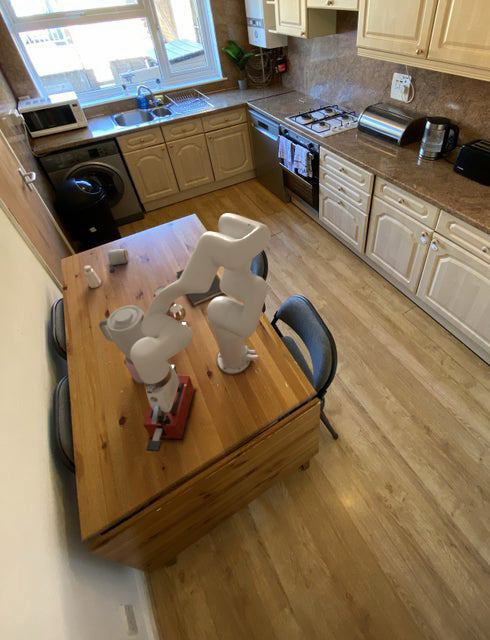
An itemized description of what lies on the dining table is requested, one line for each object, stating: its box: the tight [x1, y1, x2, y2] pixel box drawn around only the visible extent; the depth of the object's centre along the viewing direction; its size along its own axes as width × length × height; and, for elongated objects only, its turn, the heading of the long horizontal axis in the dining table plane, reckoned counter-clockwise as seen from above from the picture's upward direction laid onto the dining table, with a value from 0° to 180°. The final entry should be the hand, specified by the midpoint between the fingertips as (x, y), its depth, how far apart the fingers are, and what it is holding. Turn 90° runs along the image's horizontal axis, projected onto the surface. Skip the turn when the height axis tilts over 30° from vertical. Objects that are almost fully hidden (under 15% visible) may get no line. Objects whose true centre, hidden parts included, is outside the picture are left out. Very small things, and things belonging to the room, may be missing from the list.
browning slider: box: [169, 401, 178, 415], centre depth 103 cm, size 2×2×4 cm
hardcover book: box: [176, 269, 224, 307], centre depth 161 cm, size 16×23×2 cm
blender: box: [98, 304, 146, 386], centre depth 117 cm, size 16×12×32 cm
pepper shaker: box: [83, 264, 102, 289], centre depth 160 cm, size 5×5×11 cm
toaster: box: [142, 374, 196, 441], centre depth 111 cm, size 10×16×10 cm, turn 177°
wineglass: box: [169, 303, 189, 327], centre depth 139 cm, size 6×6×12 cm
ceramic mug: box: [107, 248, 130, 266], centre depth 175 cm, size 11×8×8 cm
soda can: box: [153, 285, 176, 316], centre depth 146 cm, size 7×7×12 cm
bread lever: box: [145, 428, 163, 452], centre depth 100 cm, size 4×6×1 cm, turn 178°
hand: (170, 406), depth 102 cm, fingers open, 9 cm apart
